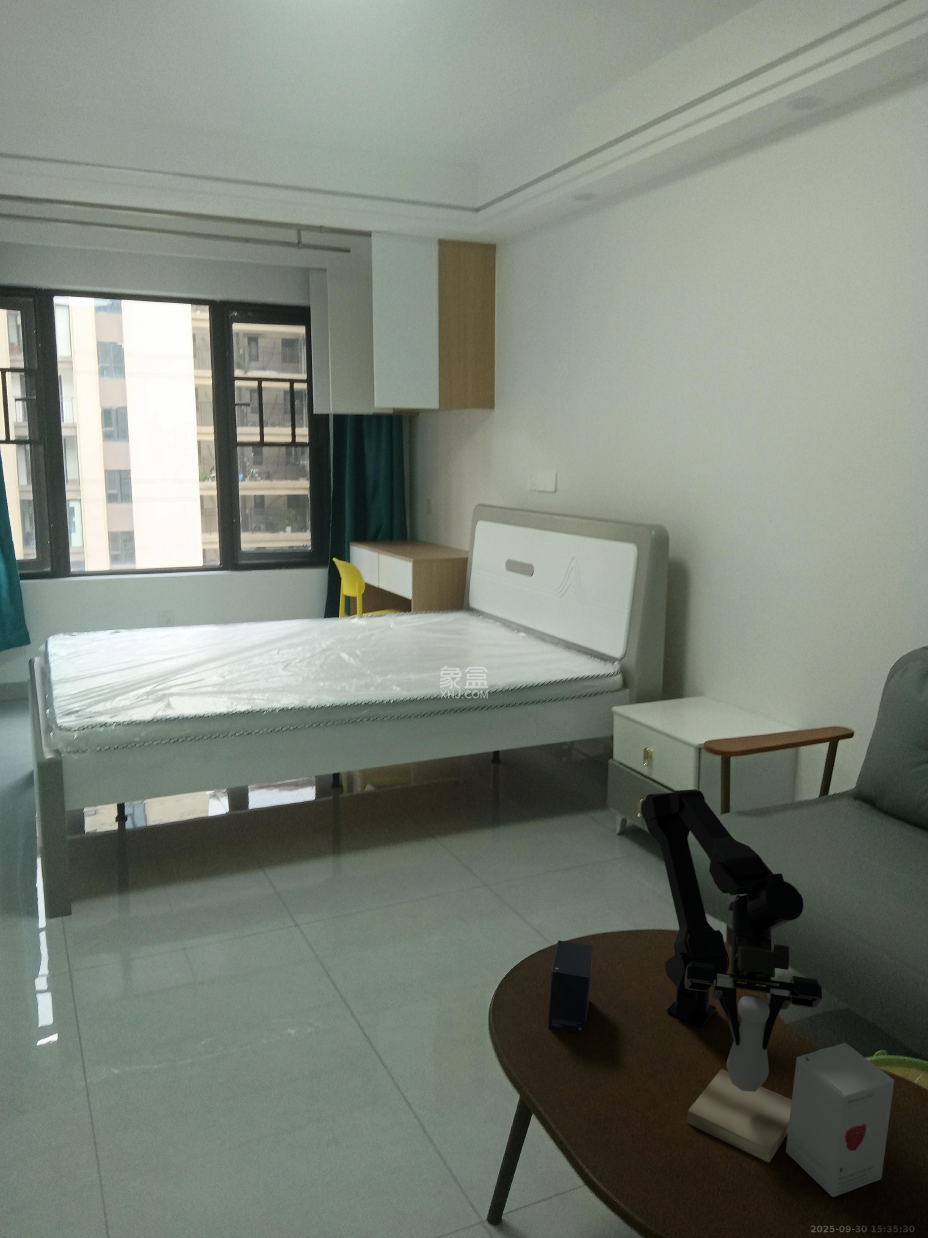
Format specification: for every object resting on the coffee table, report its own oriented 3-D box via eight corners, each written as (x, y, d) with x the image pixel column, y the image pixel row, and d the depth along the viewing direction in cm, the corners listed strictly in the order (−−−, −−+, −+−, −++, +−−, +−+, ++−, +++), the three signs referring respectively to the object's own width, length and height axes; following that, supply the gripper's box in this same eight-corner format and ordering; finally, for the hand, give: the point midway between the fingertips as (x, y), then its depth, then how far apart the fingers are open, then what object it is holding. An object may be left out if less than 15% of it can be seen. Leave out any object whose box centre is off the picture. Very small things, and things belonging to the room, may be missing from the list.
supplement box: (832, 1200, 122) (844, 1097, 119) (783, 1153, 130) (793, 1055, 127) (884, 1180, 126) (897, 1080, 123) (833, 1135, 134) (844, 1040, 131)
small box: (586, 1035, 155) (589, 976, 153) (546, 1029, 156) (549, 971, 154) (590, 999, 165) (594, 944, 163) (553, 993, 166) (556, 939, 165)
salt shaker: (774, 1083, 136) (783, 1001, 133) (755, 1102, 132) (764, 1019, 129) (736, 1064, 140) (745, 984, 137) (717, 1082, 135) (725, 1000, 133)
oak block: (720, 1083, 145) (721, 1069, 144) (798, 1119, 138) (799, 1103, 137) (686, 1126, 135) (688, 1110, 135) (768, 1166, 128) (770, 1150, 128)
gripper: (691, 911, 137) (686, 1024, 128) (827, 929, 133) (831, 1047, 124) (686, 933, 146) (681, 1041, 137) (813, 951, 142) (816, 1062, 134)
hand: (750, 1047), depth 133 cm, fingers closed on salt shaker, 3 cm apart
